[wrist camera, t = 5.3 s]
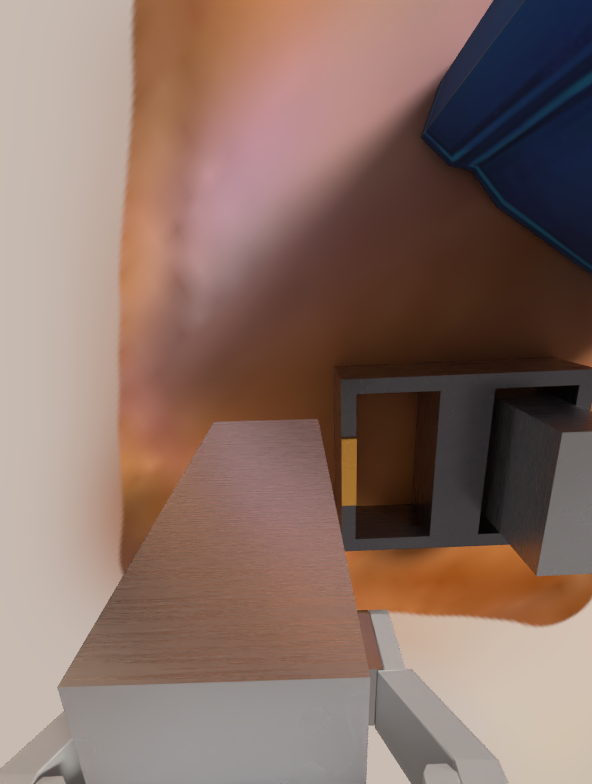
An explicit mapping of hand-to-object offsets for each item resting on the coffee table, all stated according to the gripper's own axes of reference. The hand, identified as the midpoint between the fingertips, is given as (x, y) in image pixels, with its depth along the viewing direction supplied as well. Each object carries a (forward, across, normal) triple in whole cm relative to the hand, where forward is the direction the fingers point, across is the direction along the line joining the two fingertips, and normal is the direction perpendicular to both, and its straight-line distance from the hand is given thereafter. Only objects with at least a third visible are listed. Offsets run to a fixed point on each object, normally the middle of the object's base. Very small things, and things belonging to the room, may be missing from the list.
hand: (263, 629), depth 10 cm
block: (+4, 0, 0) cm, 4 cm away
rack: (+18, -12, +3) cm, 22 cm away
